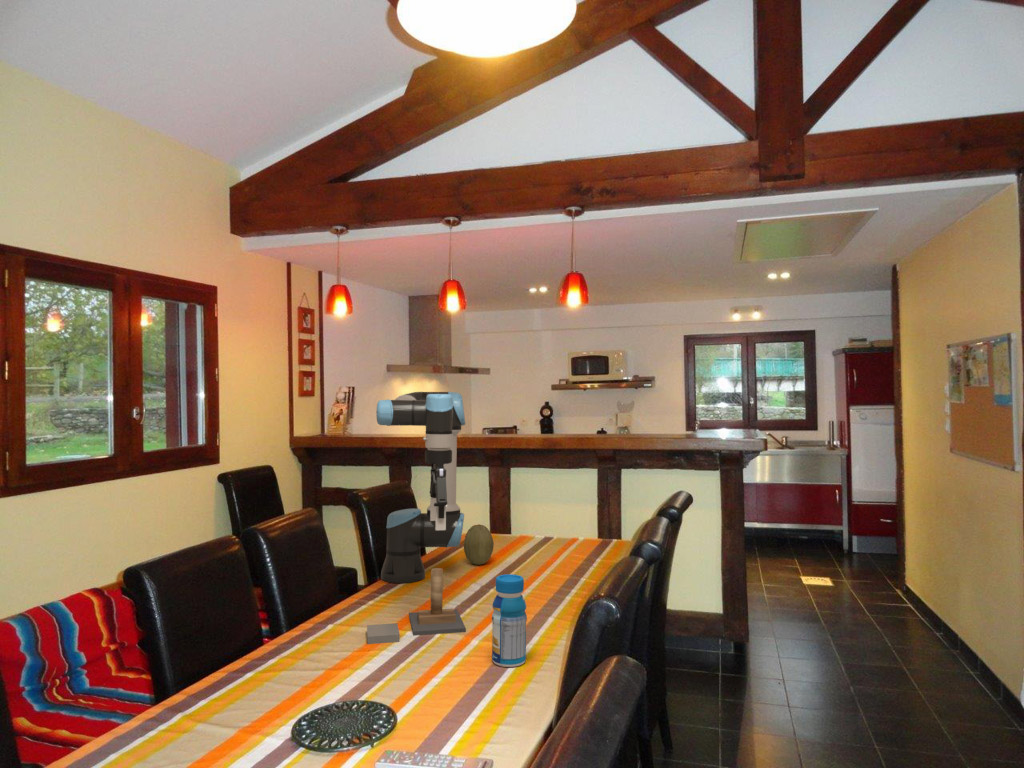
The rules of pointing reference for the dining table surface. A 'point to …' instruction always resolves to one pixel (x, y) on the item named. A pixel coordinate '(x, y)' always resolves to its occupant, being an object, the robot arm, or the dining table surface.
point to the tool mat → (436, 626)
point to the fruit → (478, 544)
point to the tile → (383, 633)
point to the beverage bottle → (509, 622)
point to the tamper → (436, 603)
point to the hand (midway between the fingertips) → (437, 525)
